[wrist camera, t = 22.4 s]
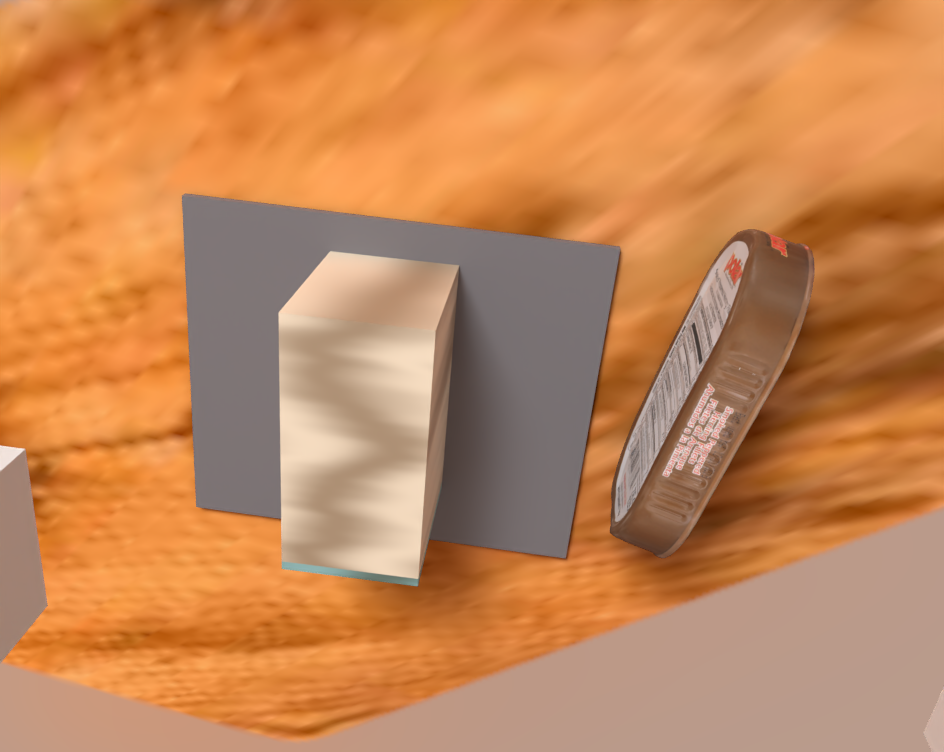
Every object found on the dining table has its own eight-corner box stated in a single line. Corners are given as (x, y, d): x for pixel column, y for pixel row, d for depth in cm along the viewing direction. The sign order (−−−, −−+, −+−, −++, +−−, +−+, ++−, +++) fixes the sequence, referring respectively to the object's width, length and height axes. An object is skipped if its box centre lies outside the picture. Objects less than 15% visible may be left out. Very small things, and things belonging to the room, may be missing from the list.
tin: (651, 494, 44) (669, 602, 37) (593, 474, 44) (599, 578, 37) (793, 223, 38) (850, 286, 30) (726, 198, 38) (767, 255, 30)
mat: (619, 246, 39) (620, 249, 39) (565, 553, 46) (565, 558, 46) (185, 193, 40) (182, 195, 40) (198, 503, 47) (196, 506, 47)
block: (435, 330, 33) (417, 586, 38) (459, 265, 40) (441, 487, 45) (278, 312, 33) (281, 568, 38) (329, 251, 40) (327, 473, 45)
